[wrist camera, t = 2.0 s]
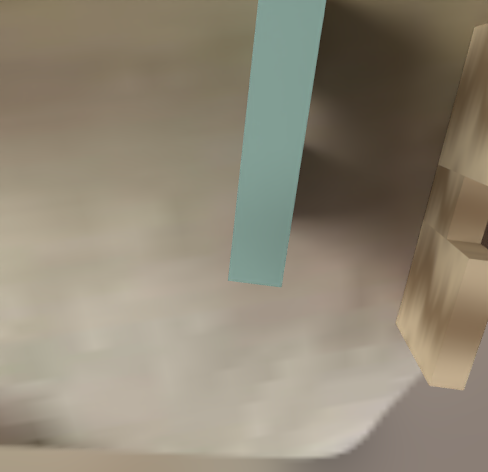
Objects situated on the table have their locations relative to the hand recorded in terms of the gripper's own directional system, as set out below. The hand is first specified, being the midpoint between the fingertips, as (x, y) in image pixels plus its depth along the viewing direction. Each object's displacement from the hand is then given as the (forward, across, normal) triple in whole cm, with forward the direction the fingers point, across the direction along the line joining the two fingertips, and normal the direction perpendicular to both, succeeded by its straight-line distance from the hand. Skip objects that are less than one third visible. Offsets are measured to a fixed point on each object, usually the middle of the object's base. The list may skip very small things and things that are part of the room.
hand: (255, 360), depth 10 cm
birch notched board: (+20, +12, +1) cm, 23 cm away
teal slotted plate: (+20, 0, +5) cm, 20 cm away
